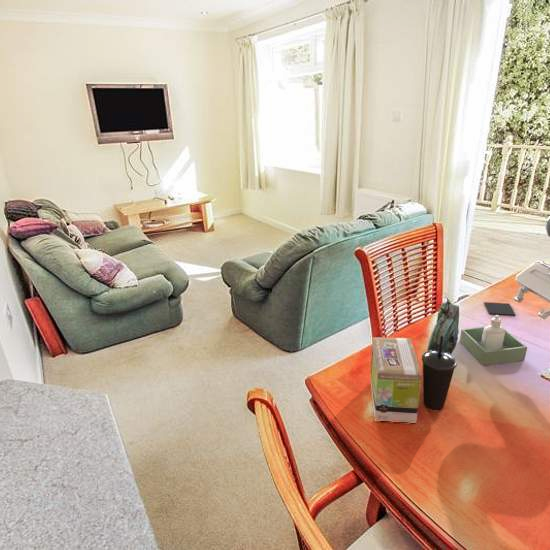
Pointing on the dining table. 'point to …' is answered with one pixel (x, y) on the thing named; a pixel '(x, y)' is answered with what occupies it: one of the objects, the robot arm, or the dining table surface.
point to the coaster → (499, 309)
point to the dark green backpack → (445, 328)
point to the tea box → (395, 379)
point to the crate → (511, 354)
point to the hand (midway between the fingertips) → (527, 308)
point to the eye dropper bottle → (493, 335)
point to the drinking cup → (437, 376)
